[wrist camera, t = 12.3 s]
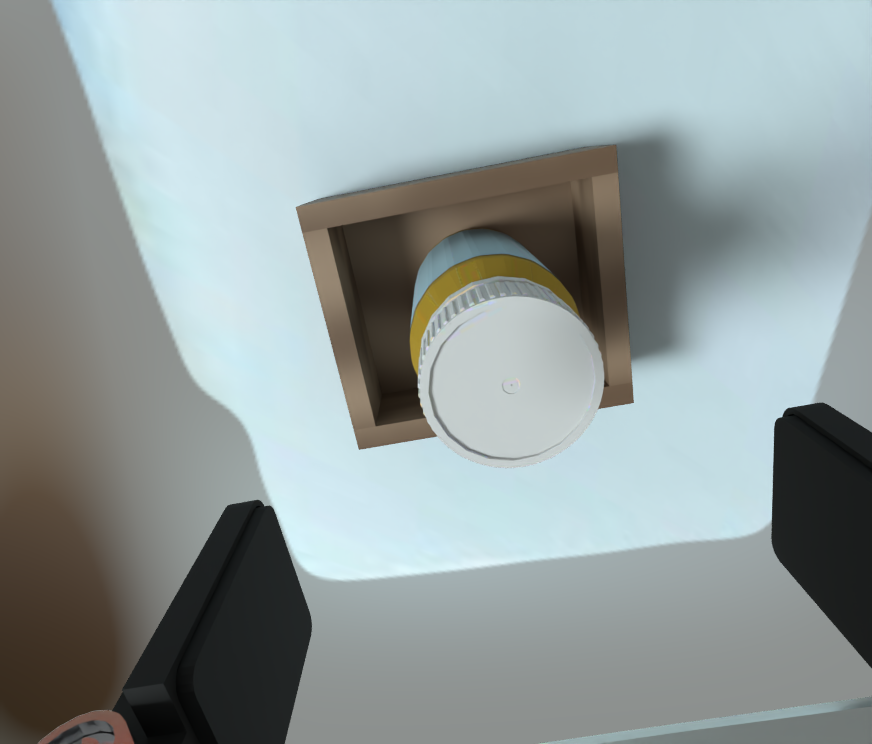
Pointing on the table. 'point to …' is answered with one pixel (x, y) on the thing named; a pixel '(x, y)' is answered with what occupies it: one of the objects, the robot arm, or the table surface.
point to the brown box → (424, 228)
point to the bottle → (501, 352)
